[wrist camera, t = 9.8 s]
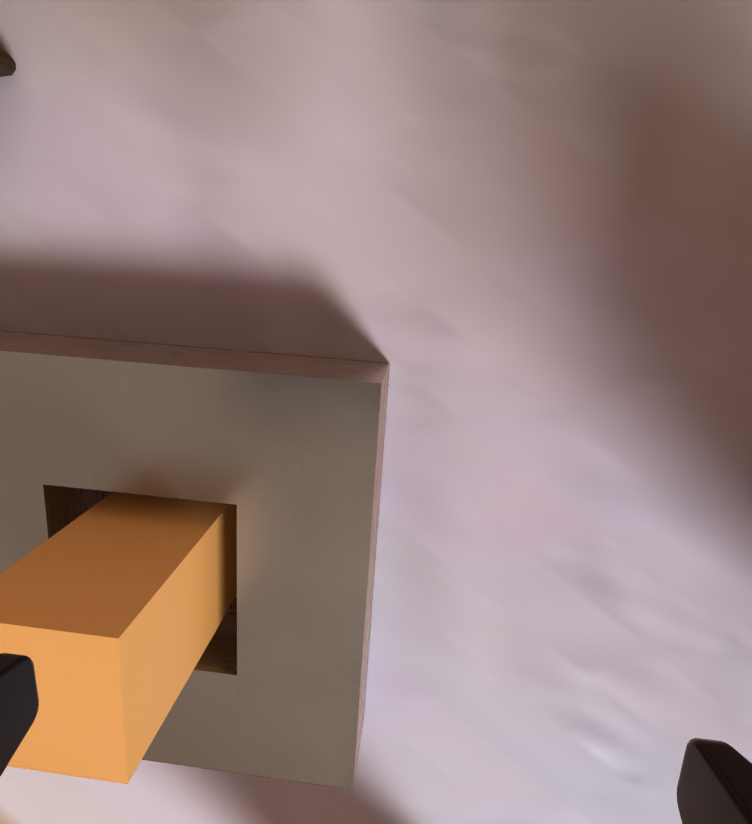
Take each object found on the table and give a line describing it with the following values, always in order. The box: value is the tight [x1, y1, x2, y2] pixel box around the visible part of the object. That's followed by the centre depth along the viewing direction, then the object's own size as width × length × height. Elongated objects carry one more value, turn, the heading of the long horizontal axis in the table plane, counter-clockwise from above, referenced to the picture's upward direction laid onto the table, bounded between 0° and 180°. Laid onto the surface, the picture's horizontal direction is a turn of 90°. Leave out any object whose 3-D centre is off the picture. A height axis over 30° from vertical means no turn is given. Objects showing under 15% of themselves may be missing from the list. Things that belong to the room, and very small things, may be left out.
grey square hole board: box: [0, 331, 390, 789], centre depth 19 cm, size 14×14×3 cm
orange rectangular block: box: [0, 492, 237, 784], centre depth 17 cm, size 4×4×8 cm
